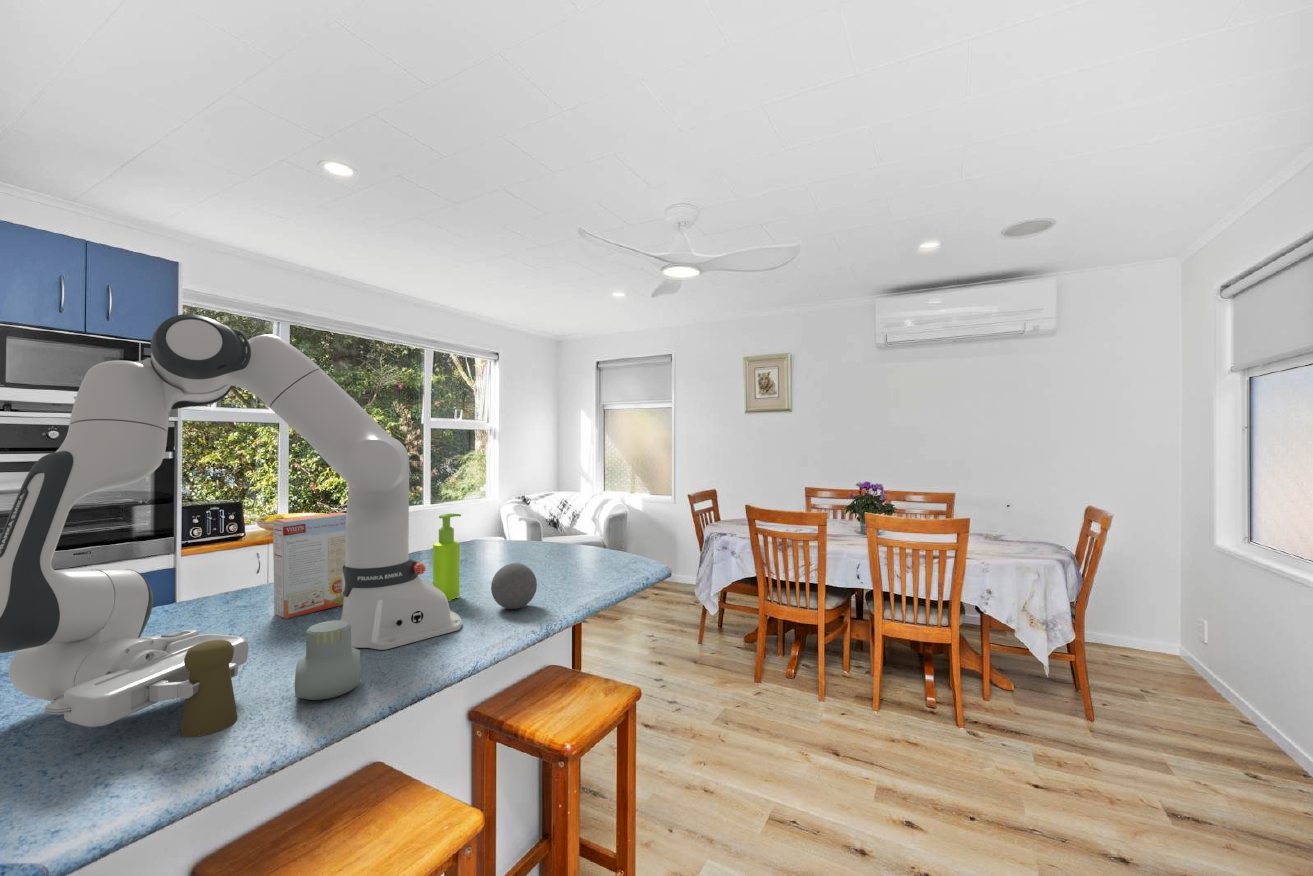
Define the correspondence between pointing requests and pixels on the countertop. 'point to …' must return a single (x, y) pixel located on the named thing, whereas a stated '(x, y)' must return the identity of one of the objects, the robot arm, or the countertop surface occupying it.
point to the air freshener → (327, 662)
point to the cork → (209, 689)
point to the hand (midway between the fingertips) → (215, 680)
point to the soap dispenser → (446, 560)
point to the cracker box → (308, 563)
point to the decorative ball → (514, 586)
